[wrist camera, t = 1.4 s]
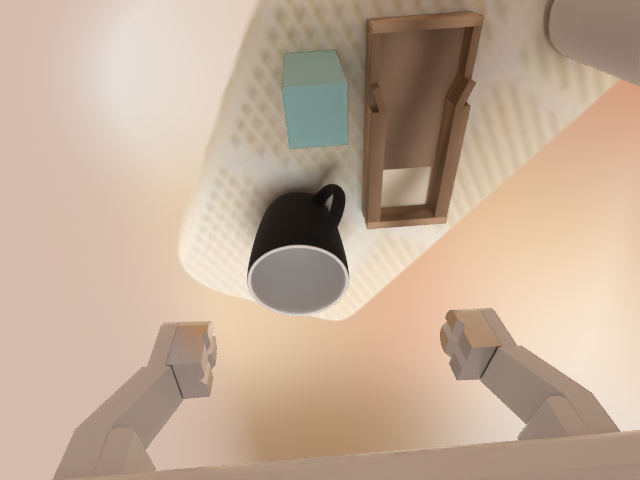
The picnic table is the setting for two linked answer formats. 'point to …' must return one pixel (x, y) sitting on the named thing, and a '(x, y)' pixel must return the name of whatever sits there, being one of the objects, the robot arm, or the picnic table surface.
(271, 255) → the mug
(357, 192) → the picnic table surface
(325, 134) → the block
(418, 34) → the brown wooden tray
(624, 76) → the can
